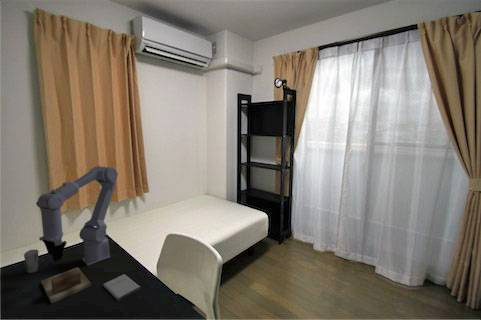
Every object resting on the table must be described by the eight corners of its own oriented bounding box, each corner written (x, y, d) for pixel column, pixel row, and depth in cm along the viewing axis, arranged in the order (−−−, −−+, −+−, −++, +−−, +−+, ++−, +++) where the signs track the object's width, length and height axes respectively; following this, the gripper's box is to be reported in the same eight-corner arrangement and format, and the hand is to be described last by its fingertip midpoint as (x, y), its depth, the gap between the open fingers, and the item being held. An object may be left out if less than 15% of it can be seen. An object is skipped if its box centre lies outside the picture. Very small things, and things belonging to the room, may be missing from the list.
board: (78, 269, 96) (77, 267, 96) (91, 285, 86) (90, 283, 86) (41, 283, 87) (41, 280, 87) (51, 303, 77) (51, 300, 77)
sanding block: (77, 279, 88) (77, 268, 88) (81, 283, 86) (80, 272, 85) (51, 289, 82) (51, 278, 82) (54, 294, 80) (53, 283, 79)
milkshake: (32, 275, 92) (30, 252, 91) (22, 273, 93) (20, 250, 92) (44, 268, 96) (42, 247, 95) (34, 267, 97) (32, 245, 96)
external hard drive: (118, 302, 79) (103, 287, 86) (140, 290, 85) (124, 277, 93) (117, 298, 79) (103, 283, 86) (140, 286, 85) (124, 273, 93)
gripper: (34, 222, 87) (37, 254, 89) (43, 232, 79) (46, 268, 80) (56, 217, 93) (59, 247, 94) (67, 226, 84) (70, 260, 86)
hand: (54, 256), depth 88 cm, fingers open, 7 cm apart
